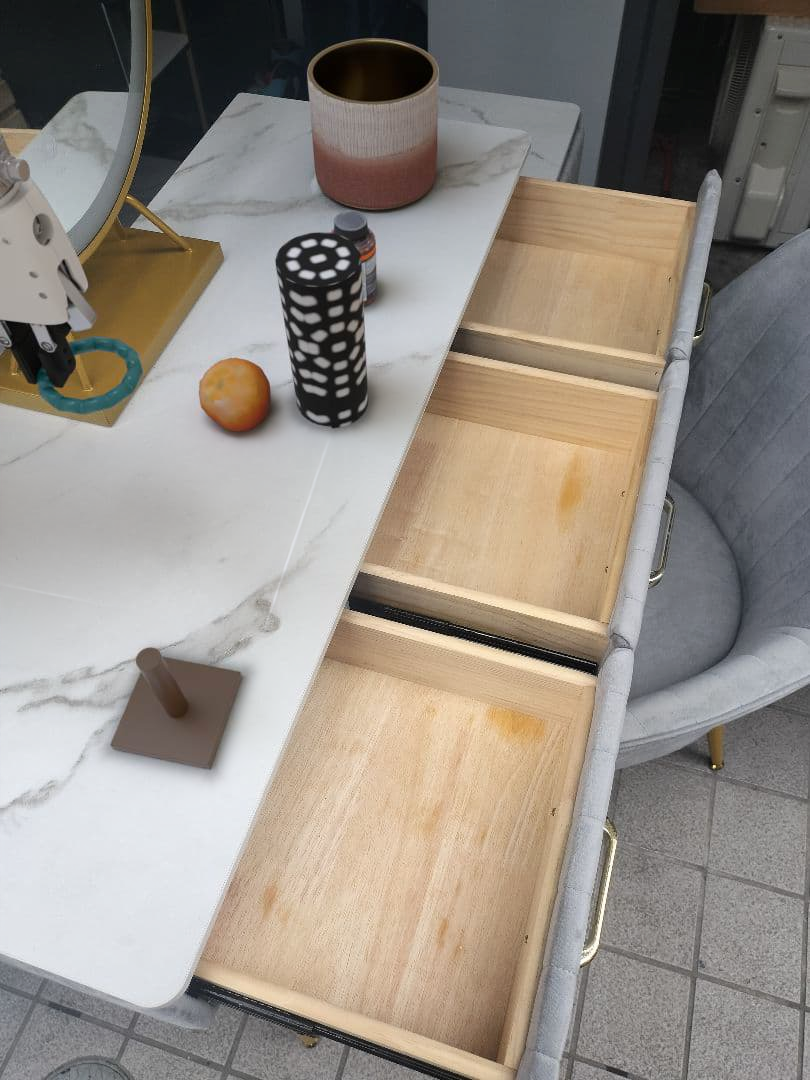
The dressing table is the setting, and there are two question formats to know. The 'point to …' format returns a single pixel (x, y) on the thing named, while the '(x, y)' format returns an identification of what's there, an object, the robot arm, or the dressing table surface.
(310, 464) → the dressing table surface
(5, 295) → the robot arm
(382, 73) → the planter
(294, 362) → the spotted tube
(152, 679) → the jewel stand
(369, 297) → the supplement bottle
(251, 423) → the fruit
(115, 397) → the bangle
